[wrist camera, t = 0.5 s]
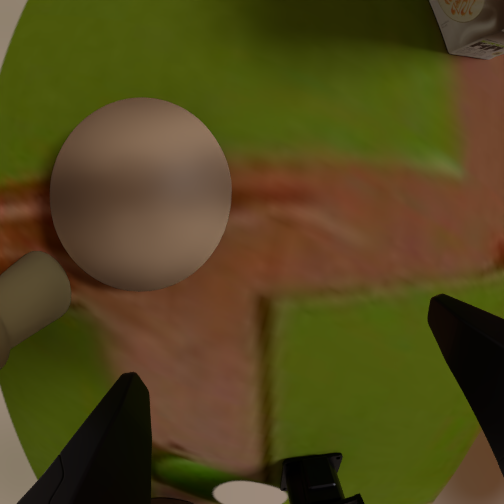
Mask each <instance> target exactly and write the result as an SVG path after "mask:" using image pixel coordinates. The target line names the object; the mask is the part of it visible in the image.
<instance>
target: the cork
mask: <svg viewBox="0 0 504 504" xmlns="http://www.w3.org/2000/svg"><path fill="white" fill-rule="evenodd" d="M70 302H71V288H70V283H69V280H68V277H67V275H66V273H65V271H64V269H63V268H62V267H61V265H60V264H59V263H58V261H57V260H55V259H54V258H53V257H52V256H50V255H49V254H47V253H44V252H41V251H32V252H30V253H28V254H26V255H24V256H23V257H22V258H20V259H19V260H18V261H17V262H15V263H14V264H13V265H12V266H11V267H9V268H8V269H7V270H6V271H5V272H3V273H2V274H1V275H0V370H1V369H2V367H3V366H4V365H5V364H6V362H7V360H8V357H9V353H10V349H11V348H13V347H14V346H16V345H17V344H19V343H20V342H22V341H24V340H25V339H27V338H28V337H30V336H31V335H33V334H34V333H36V332H37V331H39V330H41V329H42V328H44V327H45V326H47V325H49V324H50V323H52V322H53V321H55V320H56V319H58V318H60V317H61V316H62V315H63V314H64V313H65V312H66V311H67V310H68V307H69V305H70Z"/></svg>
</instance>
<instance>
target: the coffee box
mask: <svg viewBox="0 0 504 504" xmlns="http://www.w3.org/2000/svg"><path fill="white" fill-rule="evenodd" d="M429 2H430V4H431V6H432V9H433V11H434V14H435V16H436V19H437V22H438V24H439V27H440V29H441V32H442V35H443V38H444V41H445V44H446V47H447V50H448V52H449V53H450V54H454V55H462V56H468V57H475V58H481V59H491V58H493V57H496V56H499V55H502V54H504V0H429Z"/></svg>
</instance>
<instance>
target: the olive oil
mask: <svg viewBox="0 0 504 504" xmlns="http://www.w3.org/2000/svg"><path fill="white" fill-rule="evenodd" d="M151 504H193V503H190V502H186V501H182V500H177V499H169V498H155V499H151Z"/></svg>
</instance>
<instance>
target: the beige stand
mask: <svg viewBox="0 0 504 504" xmlns="http://www.w3.org/2000/svg"><path fill="white" fill-rule="evenodd" d="M231 193H232V187H231V176H230V171H229V167H228V164H227V161H226V158H225V155H224V153H223V151H222V149H221V148H220V146H219V144H218V142H217V140H216V139H215V138H214V136H213V135H212V133H211V132H210V130H209V129H208V128H207V127H206V126H205V125H204V124H203V123H202V122H201V121H200V120H199V119H198V118H196V117H195V116H194V115H193V114H191V113H190V112H188V111H187V110H185V109H183V108H182V107H180V106H177V105H175V104H173V103H170V102H167V101H163V100H159V99H154V98H130V99H125V100H120V101H117V102H114V103H111V104H108V105H106V106H104V107H102V108H100V109H98V110H96V111H95V112H93V113H92V114H90V115H89V116H88V117H86V118H85V119H84V120H83V121H82V122H81V123H80V124H79V125H78V126H77V127H76V128H75V129H74V130H73V131H72V133H71V134H70V135H69V137H68V138H67V140H66V141H65V143H64V144H63V146H62V148H61V150H60V152H59V154H58V156H57V159H56V162H55V165H54V168H53V172H52V176H51V183H50V208H51V215H52V219H53V223H54V226H55V229H56V232H57V234H58V237H59V239H60V241H61V243H62V245H63V247H64V248H65V250H66V251H67V253H68V254H69V256H70V257H71V258H72V259H73V260H74V261H75V263H76V264H77V265H78V266H79V267H80V268H82V269H83V270H84V271H85V272H86V273H87V274H89V275H90V276H92V277H93V278H95V279H96V280H98V281H100V282H102V283H104V284H106V285H109V286H112V287H114V288H118V289H122V290H127V291H138V292H139V291H152V290H158V289H162V288H165V287H168V286H171V285H174V284H176V283H178V282H180V281H182V280H184V279H185V278H187V277H188V276H190V275H191V274H193V273H194V272H195V271H196V270H197V269H199V268H200V267H201V266H202V265H203V264H204V263H205V262H206V260H207V259H208V258H209V257H210V256H211V254H212V253H213V251H214V250H215V248H216V247H217V245H218V244H219V241H220V239H221V237H222V235H223V233H224V230H225V227H226V224H227V221H228V217H229V212H230V207H231Z"/></svg>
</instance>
